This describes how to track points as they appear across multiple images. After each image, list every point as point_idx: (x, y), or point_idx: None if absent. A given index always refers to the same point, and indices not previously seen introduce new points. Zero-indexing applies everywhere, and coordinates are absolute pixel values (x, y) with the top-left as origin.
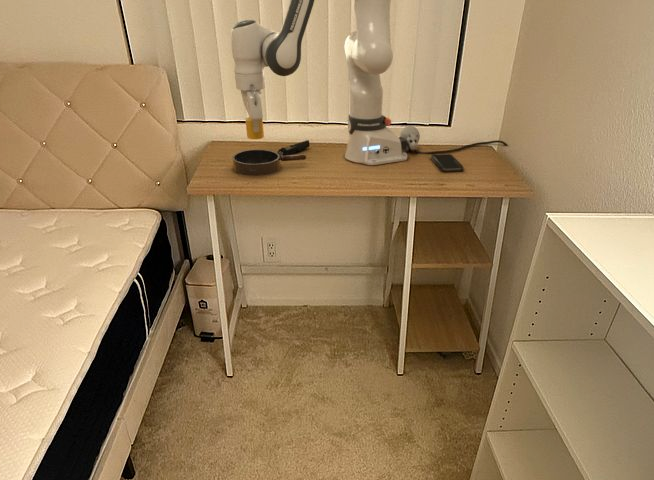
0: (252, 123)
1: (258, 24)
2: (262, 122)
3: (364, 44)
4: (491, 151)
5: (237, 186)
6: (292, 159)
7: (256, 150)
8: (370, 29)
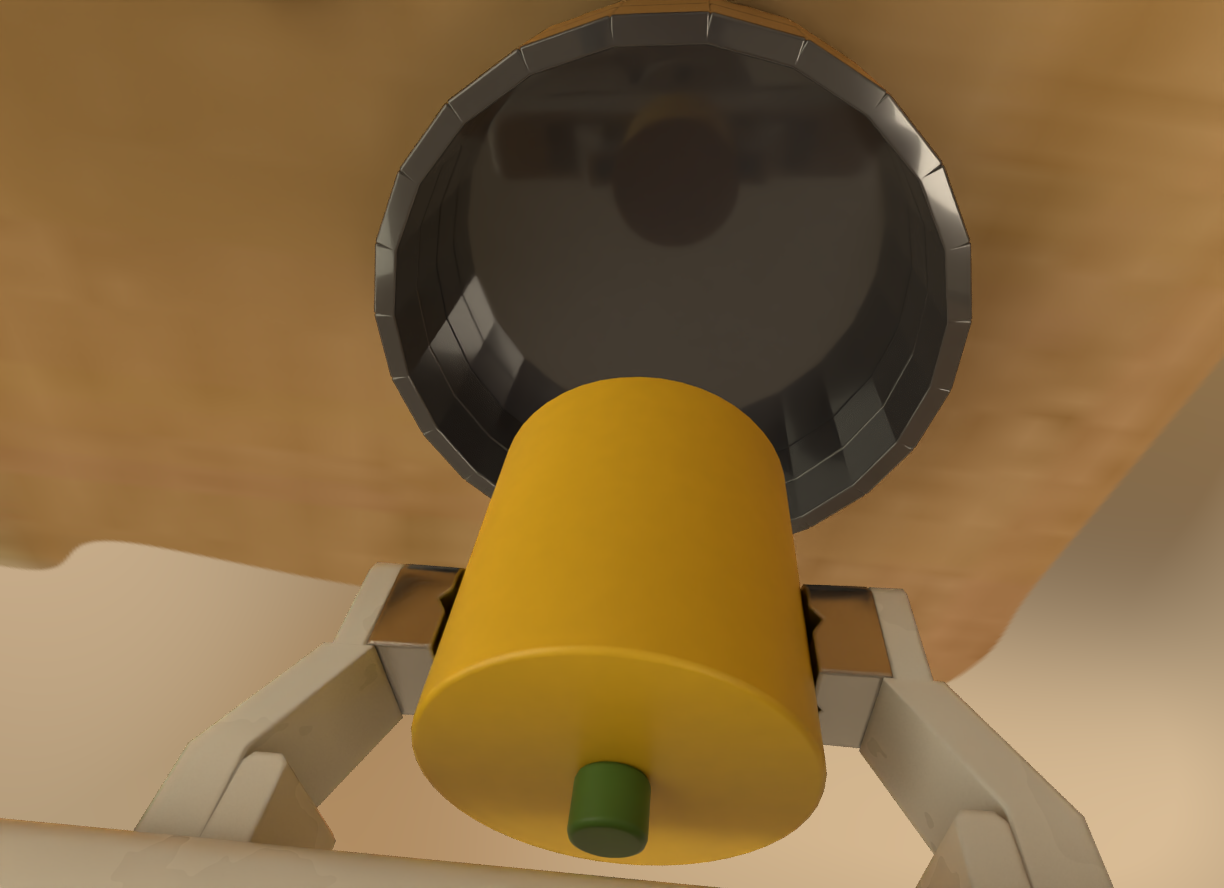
0: (908, 814)
1: None
2: (681, 587)
3: None
4: None
5: (1082, 502)
6: None
7: (396, 311)
8: None
